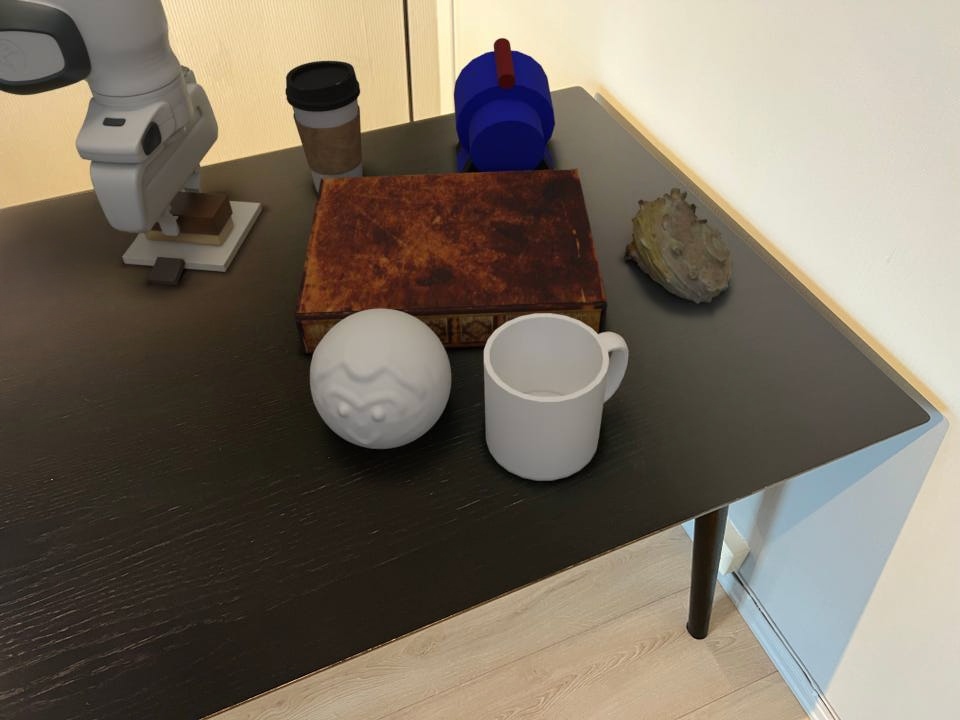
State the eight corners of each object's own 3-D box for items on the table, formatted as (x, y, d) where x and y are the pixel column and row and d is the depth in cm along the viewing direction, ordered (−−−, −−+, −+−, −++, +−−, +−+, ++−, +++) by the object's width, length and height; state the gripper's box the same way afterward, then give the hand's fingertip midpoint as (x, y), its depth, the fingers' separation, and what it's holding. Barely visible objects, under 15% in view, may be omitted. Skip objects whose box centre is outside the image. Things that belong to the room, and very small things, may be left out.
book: (303, 355, 78) (293, 318, 75) (327, 213, 95) (321, 177, 92) (602, 343, 79) (607, 305, 75) (574, 204, 96) (577, 168, 92)
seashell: (656, 334, 81) (679, 263, 73) (597, 242, 90) (611, 169, 82) (749, 310, 84) (781, 239, 76) (683, 223, 92) (705, 150, 85)
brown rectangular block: (143, 240, 90) (132, 211, 88) (160, 218, 93) (149, 189, 91) (222, 246, 89) (212, 217, 86) (236, 223, 92) (227, 194, 89)
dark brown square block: (151, 283, 87) (148, 279, 86) (160, 260, 88) (157, 256, 88) (177, 285, 87) (174, 281, 86) (185, 262, 88) (182, 258, 87)
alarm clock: (546, 139, 106) (551, 27, 96) (558, 190, 98) (565, 74, 87) (455, 143, 106) (450, 32, 95) (459, 196, 97) (454, 79, 87)
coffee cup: (355, 210, 96) (337, 93, 85) (293, 199, 98) (267, 83, 87) (384, 174, 101) (369, 60, 90) (324, 163, 103) (303, 51, 93)
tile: (124, 263, 89) (121, 256, 89) (169, 203, 98) (167, 196, 97) (225, 272, 88) (223, 265, 87) (262, 209, 96) (260, 202, 96)
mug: (513, 498, 66) (514, 418, 59) (468, 414, 73) (464, 333, 65) (644, 450, 69) (661, 368, 62) (590, 374, 76) (599, 292, 68)
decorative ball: (304, 468, 69) (276, 373, 60) (344, 369, 77) (324, 273, 68) (439, 485, 67) (429, 390, 59) (465, 383, 75) (460, 286, 67)
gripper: (159, 56, 88) (194, 165, 97) (64, 154, 73) (116, 270, 83) (214, 58, 87) (243, 169, 97) (128, 158, 73) (173, 275, 83)
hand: (184, 217), depth 90 cm, fingers closed on brown rectangular block, 4 cm apart
